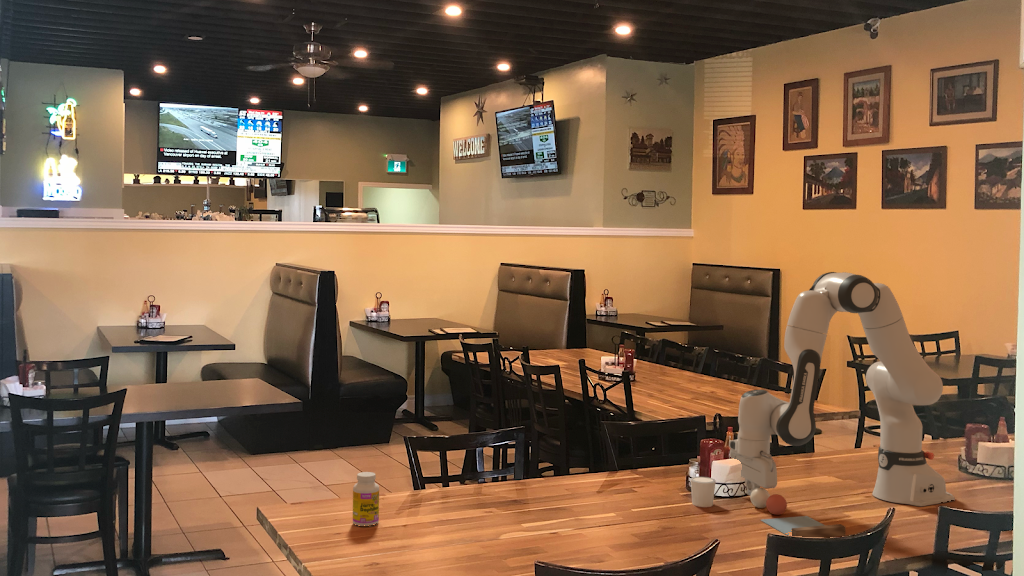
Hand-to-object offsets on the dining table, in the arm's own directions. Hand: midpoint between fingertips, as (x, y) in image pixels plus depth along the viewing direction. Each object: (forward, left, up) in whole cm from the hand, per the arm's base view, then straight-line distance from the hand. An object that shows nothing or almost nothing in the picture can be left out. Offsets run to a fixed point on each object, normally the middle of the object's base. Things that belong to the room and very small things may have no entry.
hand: (752, 495), depth 257 cm
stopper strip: (0, +32, -2) cm, 32 cm away
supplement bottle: (+108, -5, -2) cm, 108 cm away
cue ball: (+1, +6, +1) cm, 6 cm away
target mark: (0, +23, -2) cm, 23 cm away
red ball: (0, +12, +1) cm, 13 cm away
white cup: (+15, -1, -2) cm, 15 cm away
